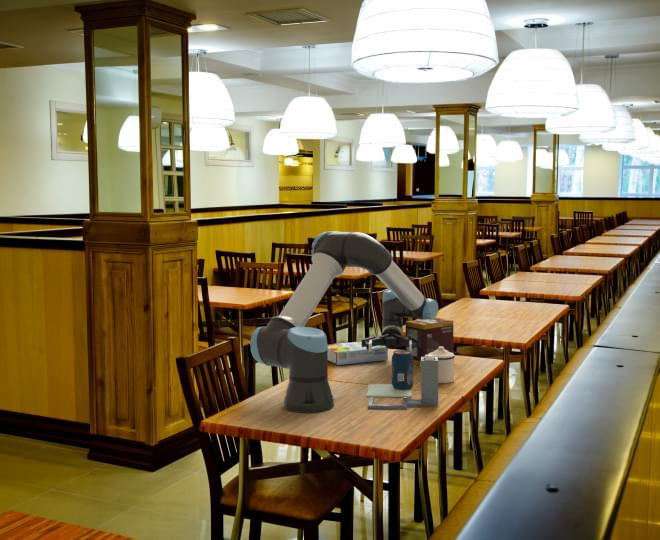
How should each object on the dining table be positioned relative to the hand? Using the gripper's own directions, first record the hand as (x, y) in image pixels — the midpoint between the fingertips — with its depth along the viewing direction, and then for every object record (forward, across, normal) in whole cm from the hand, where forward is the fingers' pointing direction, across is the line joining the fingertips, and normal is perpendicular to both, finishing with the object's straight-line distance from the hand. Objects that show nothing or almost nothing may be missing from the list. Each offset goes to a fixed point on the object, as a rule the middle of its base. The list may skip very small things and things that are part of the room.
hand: (390, 348), depth 255 cm
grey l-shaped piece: (+26, -5, -12) cm, 29 cm away
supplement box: (-33, -14, -12) cm, 38 cm away
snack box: (-28, +11, -9) cm, 32 cm away
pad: (+11, 0, -12) cm, 16 cm away
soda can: (+9, -4, -12) cm, 15 cm away
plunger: (+25, -12, -3) cm, 28 cm away
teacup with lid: (-4, -16, -12) cm, 20 cm away
